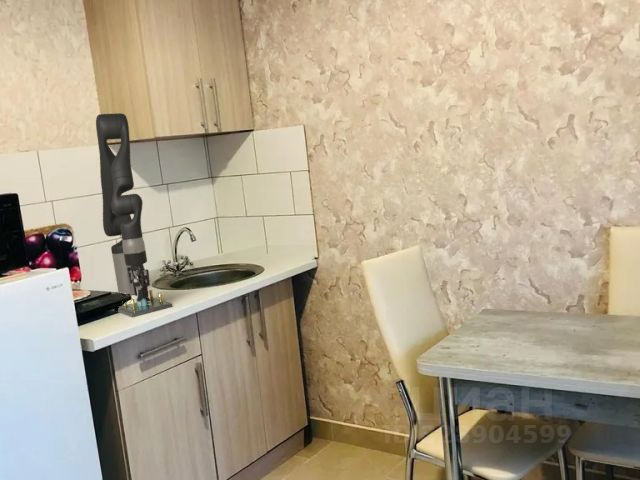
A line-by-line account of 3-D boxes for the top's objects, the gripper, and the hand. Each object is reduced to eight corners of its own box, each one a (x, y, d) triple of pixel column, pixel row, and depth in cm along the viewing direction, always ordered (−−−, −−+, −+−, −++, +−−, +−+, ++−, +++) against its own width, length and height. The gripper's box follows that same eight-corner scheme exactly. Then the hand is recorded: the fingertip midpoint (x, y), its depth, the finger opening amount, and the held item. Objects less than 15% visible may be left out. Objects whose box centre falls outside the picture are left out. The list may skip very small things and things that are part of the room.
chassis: (115, 311, 235) (113, 297, 235) (154, 301, 244) (152, 287, 243) (132, 317, 223) (129, 302, 222) (172, 306, 232) (170, 292, 231)
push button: (156, 303, 233) (152, 276, 232) (145, 307, 229) (140, 280, 227) (143, 303, 237) (139, 276, 235) (132, 307, 232) (128, 279, 231)
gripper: (116, 251, 234) (124, 296, 236) (132, 254, 222) (139, 301, 225) (136, 247, 238) (143, 292, 241) (152, 250, 227) (160, 296, 229)
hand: (141, 296), depth 233 cm, fingers open, 6 cm apart
